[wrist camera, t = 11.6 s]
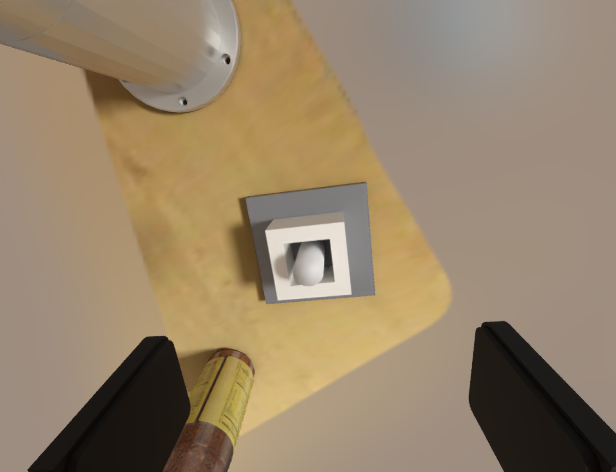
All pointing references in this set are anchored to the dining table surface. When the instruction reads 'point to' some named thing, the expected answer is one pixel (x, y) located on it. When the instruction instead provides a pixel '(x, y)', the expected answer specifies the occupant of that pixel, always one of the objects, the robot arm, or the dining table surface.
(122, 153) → the dining table surface
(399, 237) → the dining table surface
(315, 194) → the post base
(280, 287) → the white block
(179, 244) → the dining table surface
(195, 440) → the sauce bottle
